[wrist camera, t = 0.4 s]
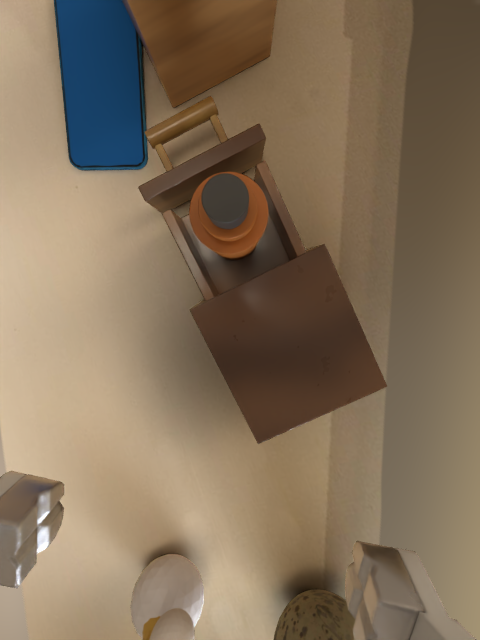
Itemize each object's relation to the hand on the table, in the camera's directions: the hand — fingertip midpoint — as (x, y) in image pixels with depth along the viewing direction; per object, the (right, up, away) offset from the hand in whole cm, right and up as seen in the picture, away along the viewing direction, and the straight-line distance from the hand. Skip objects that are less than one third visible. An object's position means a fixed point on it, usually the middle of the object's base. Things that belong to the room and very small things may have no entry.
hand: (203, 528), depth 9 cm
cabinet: (+5, +5, +25) cm, 26 cm away
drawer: (-1, +16, +22) cm, 27 cm away
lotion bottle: (0, +14, +21) cm, 25 cm away
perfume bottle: (-6, -22, +29) cm, 37 cm away
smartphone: (-12, +28, +22) cm, 37 cm away
